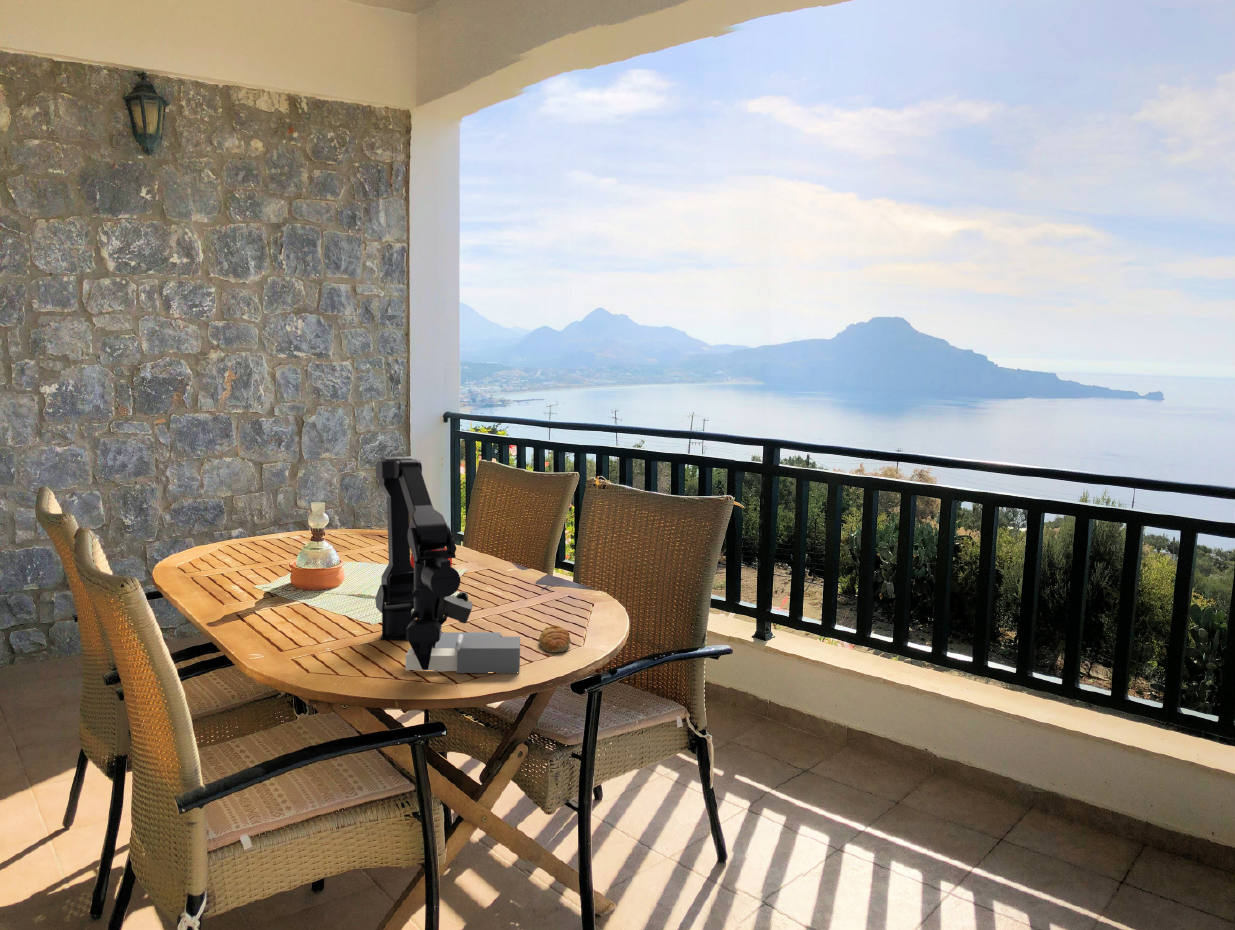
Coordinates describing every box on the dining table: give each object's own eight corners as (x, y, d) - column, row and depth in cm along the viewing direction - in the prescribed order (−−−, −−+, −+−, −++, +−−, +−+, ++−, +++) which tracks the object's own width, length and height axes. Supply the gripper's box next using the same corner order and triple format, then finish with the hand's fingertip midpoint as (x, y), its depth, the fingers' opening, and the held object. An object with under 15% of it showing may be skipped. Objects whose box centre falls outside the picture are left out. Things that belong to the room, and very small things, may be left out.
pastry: (573, 654, 181) (573, 637, 180) (541, 655, 180) (541, 638, 179) (568, 640, 190) (568, 623, 189) (537, 641, 189) (537, 624, 188)
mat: (415, 654, 177) (415, 651, 177) (423, 634, 190) (423, 632, 190) (498, 654, 179) (498, 651, 178) (500, 635, 191) (500, 632, 191)
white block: (405, 672, 168) (405, 654, 167) (409, 664, 172) (409, 647, 172) (477, 673, 168) (477, 655, 168) (480, 665, 173) (480, 648, 172)
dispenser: (454, 673, 167) (454, 646, 166) (458, 660, 174) (458, 633, 173) (519, 673, 168) (519, 646, 167) (519, 660, 175) (520, 633, 175)
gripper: (466, 597, 159) (465, 678, 161) (473, 573, 178) (472, 645, 180) (405, 596, 158) (405, 678, 160) (419, 572, 177) (418, 645, 179)
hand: (428, 661), depth 170 cm, fingers open, 9 cm apart
